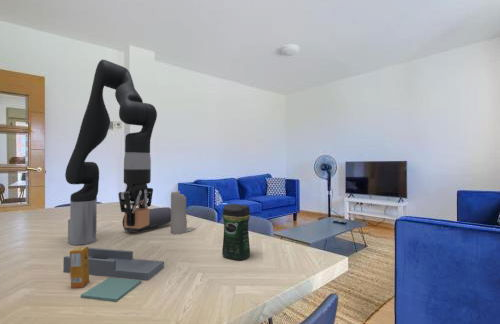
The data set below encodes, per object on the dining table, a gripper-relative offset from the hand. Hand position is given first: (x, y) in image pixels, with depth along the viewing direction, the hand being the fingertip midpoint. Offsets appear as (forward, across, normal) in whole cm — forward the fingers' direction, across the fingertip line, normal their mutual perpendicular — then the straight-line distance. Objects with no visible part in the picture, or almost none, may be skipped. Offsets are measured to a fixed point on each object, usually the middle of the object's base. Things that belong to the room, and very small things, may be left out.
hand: (136, 223), depth 78 cm
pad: (+15, -11, -1) cm, 18 cm away
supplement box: (+15, -11, +10) cm, 21 cm away
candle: (+15, +47, +6) cm, 50 cm away
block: (+1, 0, 0) cm, 1 cm away
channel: (+15, 0, +8) cm, 17 cm away
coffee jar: (+15, +19, -27) cm, 36 cm away
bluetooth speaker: (+15, +46, +24) cm, 54 cm away
